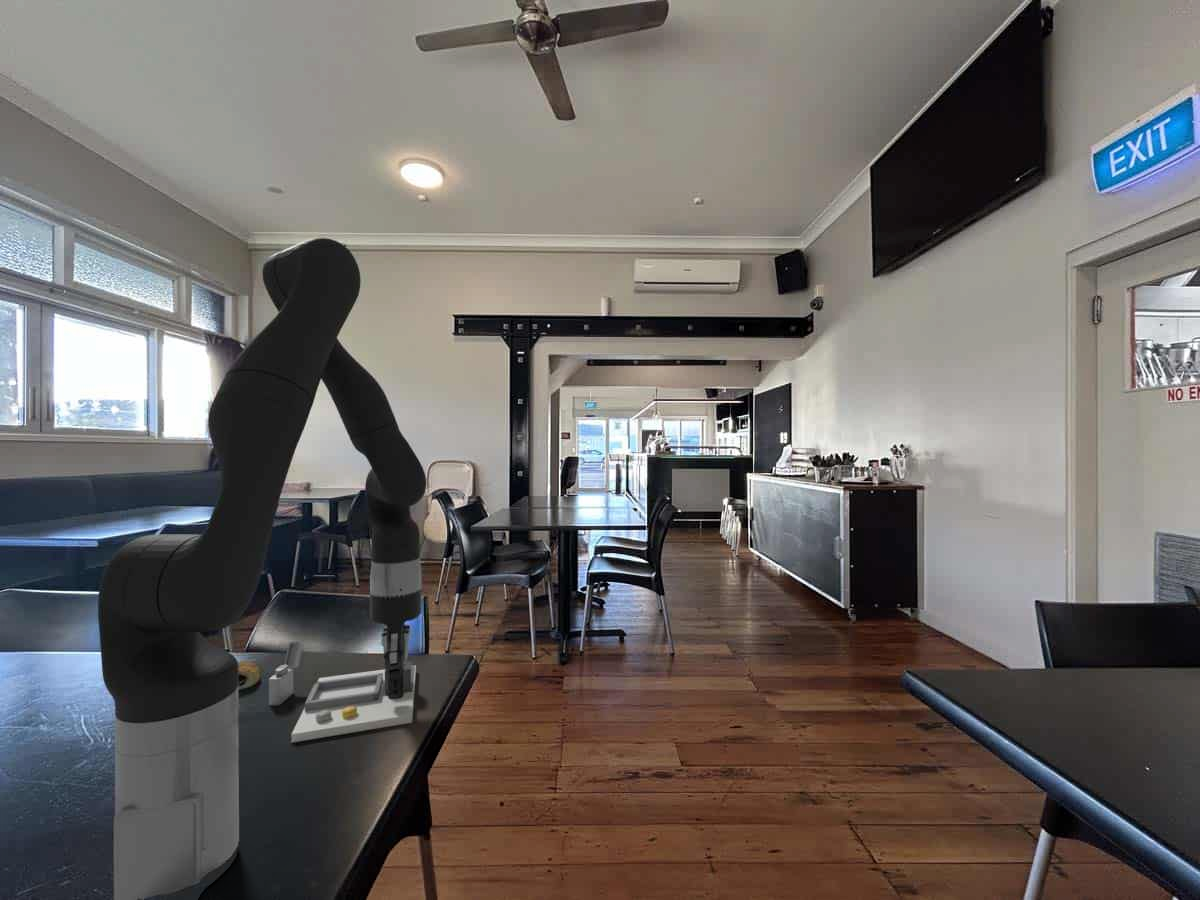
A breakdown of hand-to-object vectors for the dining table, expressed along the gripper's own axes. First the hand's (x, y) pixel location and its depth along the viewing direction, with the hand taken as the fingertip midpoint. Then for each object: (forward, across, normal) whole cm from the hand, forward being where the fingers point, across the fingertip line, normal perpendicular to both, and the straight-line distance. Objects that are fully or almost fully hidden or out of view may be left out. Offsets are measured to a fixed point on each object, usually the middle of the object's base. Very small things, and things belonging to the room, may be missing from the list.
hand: (396, 696), depth 78 cm
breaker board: (+3, +5, +6) cm, 8 cm away
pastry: (+3, +20, +28) cm, 34 cm away
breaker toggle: (+1, +6, 0) cm, 6 cm away
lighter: (+3, +12, +18) cm, 22 cm away
